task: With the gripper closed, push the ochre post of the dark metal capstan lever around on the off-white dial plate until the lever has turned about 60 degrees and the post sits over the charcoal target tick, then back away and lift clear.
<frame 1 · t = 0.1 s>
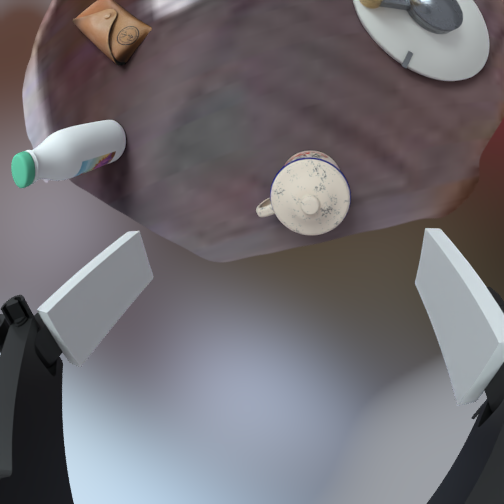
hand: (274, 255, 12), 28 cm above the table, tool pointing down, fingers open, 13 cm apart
milk bottle: (111, 140, 40), on the table
teacup with lid: (302, 183, 38), on the table
sunglasses case: (114, 25, 30), on the table
dial plate: (425, 13, 20), on the table
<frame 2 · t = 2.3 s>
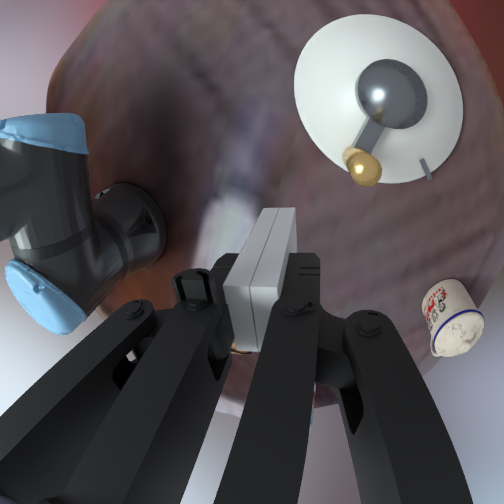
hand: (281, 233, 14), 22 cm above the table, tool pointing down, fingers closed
teacup with lid: (439, 305, 38), on the table
capstan lever: (384, 117, 23), point 6 cm above the table, hinge at 0.0°
dial plate: (383, 96, 26), on the table
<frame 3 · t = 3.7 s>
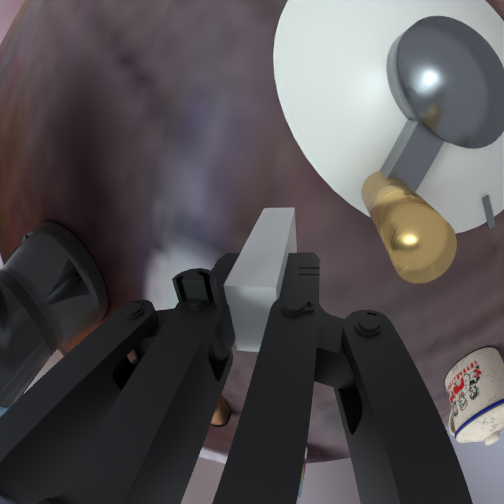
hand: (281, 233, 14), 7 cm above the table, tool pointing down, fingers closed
teacup with lid: (466, 374, 25), on the table
sunglasses case: (173, 389, 38), on the table
capstan lever: (451, 124, 10), point 6 cm above the table, hinge at 0.0°
dial plate: (430, 84, 13), on the table
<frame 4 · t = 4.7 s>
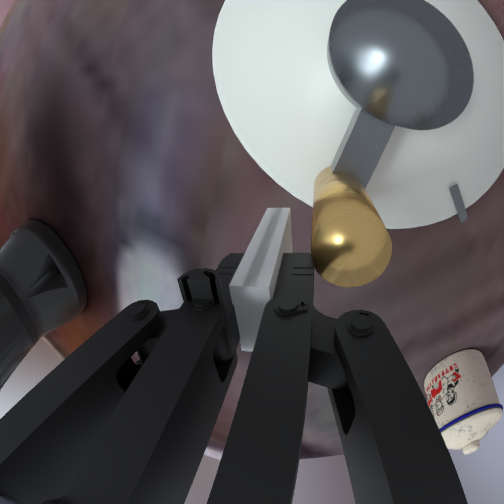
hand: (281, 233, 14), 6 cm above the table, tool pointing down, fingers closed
teacup with lid: (448, 376, 25), on the table
capstan lever: (393, 106, 10), point 6 cm above the table, hinge at 4.0°, touching gripper
dial plate: (385, 66, 13), on the table
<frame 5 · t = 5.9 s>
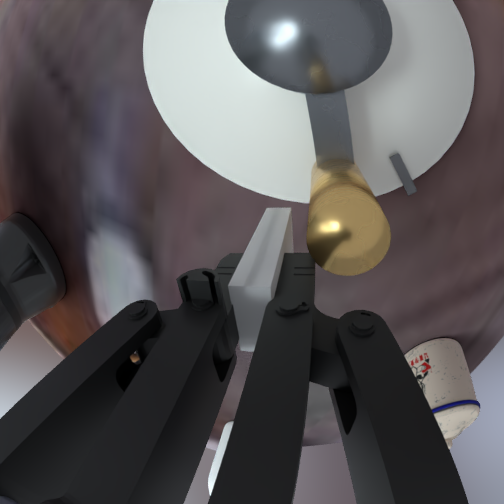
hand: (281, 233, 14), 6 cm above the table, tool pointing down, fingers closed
milk bottle: (246, 427, 43), on the table
teacup with lid: (423, 366, 26), on the table
capstan lever: (323, 76, 10), point 6 cm above the table, hinge at 34.1°, touching gripper
dial plate: (310, 39, 13), on the table
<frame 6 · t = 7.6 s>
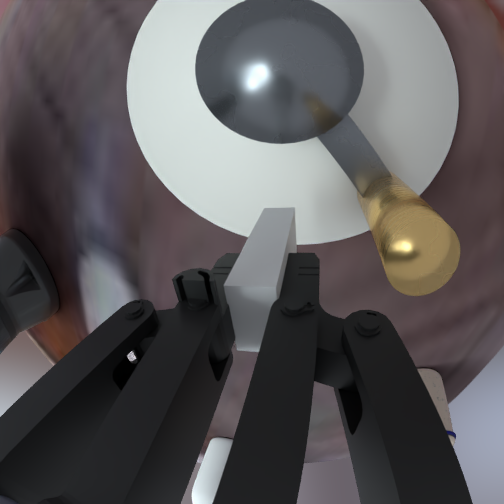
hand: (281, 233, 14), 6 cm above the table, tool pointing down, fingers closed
milk bottle: (231, 443, 42), on the table
teacup with lid: (402, 394, 26), on the table
capstan lever: (324, 113, 10), point 6 cm above the table, hinge at 65.8°
dial plate: (287, 77, 15), on the table
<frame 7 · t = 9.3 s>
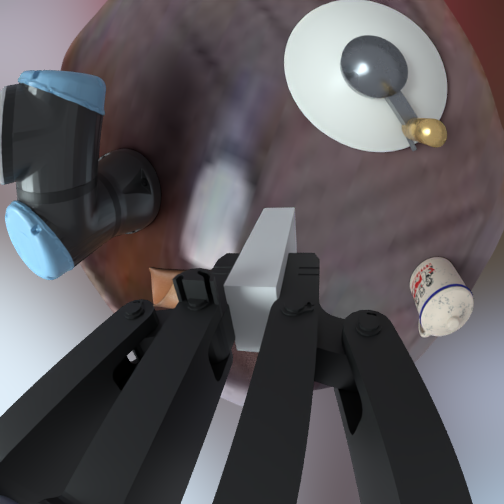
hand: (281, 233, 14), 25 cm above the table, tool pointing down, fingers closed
teacup with lid: (428, 285, 39), on the table
sunglasses case: (192, 284, 51), on the table
capstan lever: (394, 87, 23), point 6 cm above the table, hinge at 65.8°
dial plate: (369, 71, 27), on the table
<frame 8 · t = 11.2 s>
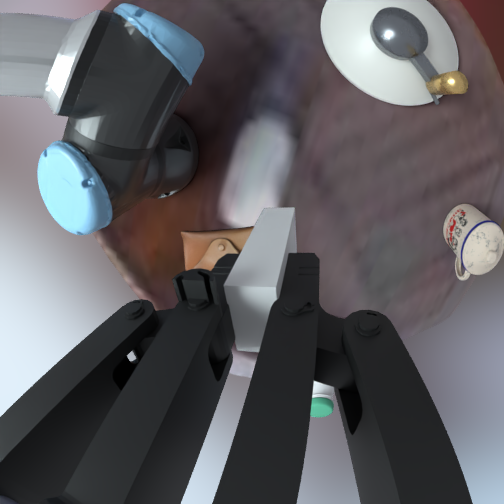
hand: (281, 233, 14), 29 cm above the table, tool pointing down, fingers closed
milk bottle: (323, 327, 54), on the table
teacup with lid: (459, 233, 38), on the table
sunglasses case: (228, 246, 50), on the table
capstan lever: (420, 48, 22), point 6 cm above the table, hinge at 65.8°
dial plate: (392, 39, 27), on the table
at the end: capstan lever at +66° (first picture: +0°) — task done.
